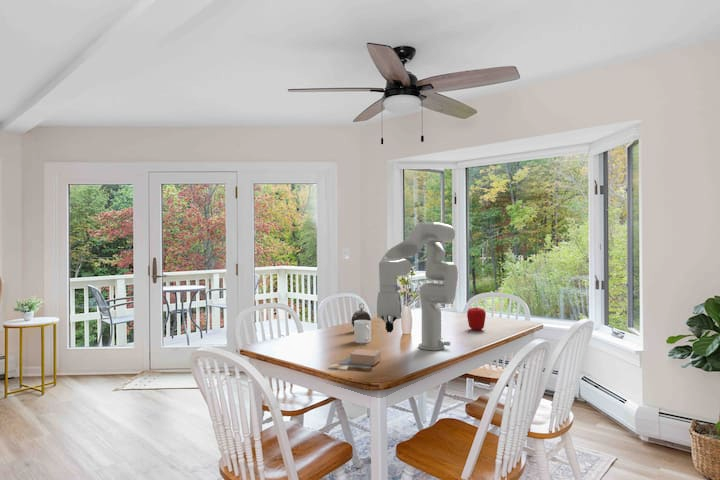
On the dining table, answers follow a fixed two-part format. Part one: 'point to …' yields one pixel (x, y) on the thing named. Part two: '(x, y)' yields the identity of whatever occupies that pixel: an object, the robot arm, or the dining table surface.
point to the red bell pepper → (476, 318)
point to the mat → (347, 362)
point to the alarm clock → (360, 315)
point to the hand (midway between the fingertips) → (389, 331)
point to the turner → (350, 367)
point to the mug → (362, 331)
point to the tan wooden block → (365, 356)
